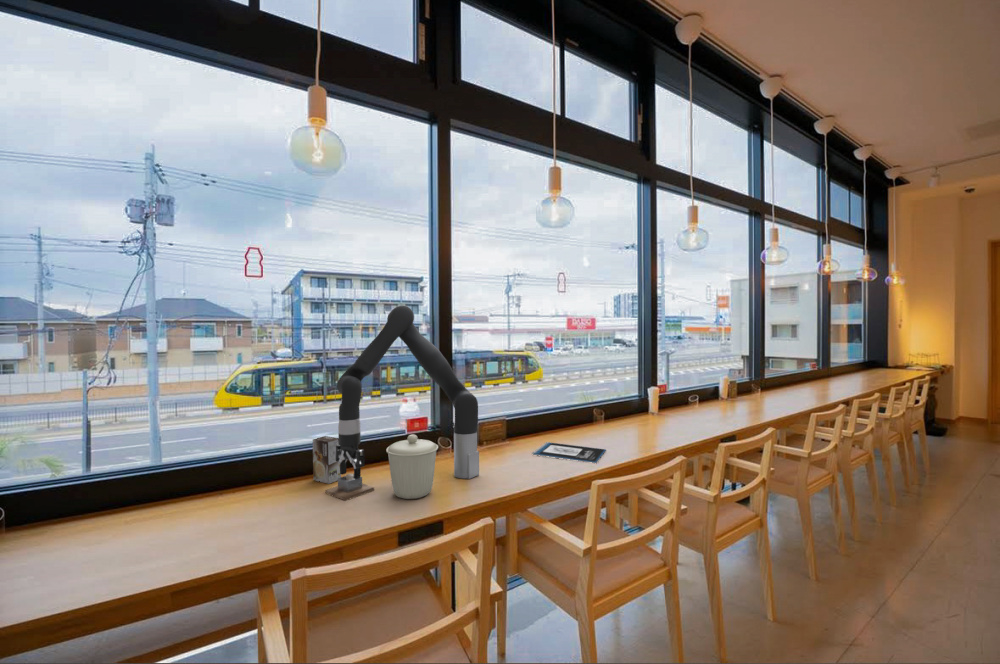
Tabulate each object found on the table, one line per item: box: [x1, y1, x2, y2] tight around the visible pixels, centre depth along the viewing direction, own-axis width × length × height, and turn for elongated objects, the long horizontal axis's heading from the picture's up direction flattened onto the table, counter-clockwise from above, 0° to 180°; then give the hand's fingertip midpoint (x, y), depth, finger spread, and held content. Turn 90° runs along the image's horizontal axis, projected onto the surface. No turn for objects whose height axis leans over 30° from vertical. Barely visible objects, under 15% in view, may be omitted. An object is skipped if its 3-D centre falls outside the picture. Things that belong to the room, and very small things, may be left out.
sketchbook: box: [531, 441, 607, 464], centre depth 204 cm, size 22×30×2 cm
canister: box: [385, 434, 439, 500], centre depth 154 cm, size 18×18×21 cm
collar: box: [337, 473, 363, 493], centre depth 156 cm, size 6×6×4 cm
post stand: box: [324, 473, 375, 501], centre depth 156 cm, size 12×12×6 cm
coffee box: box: [312, 435, 342, 484], centre depth 169 cm, size 9×6×16 cm
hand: (350, 476), depth 156 cm, fingers open, 8 cm apart
